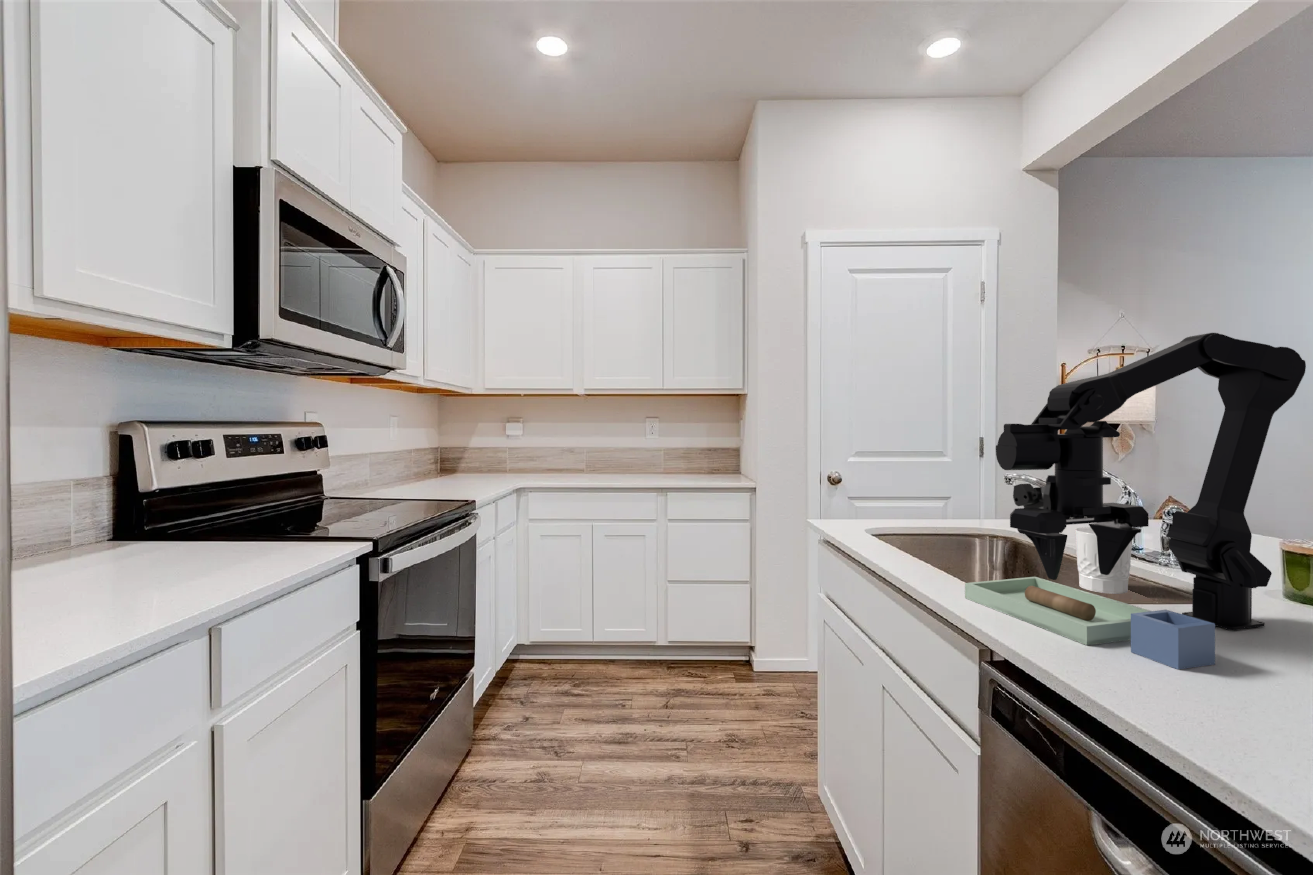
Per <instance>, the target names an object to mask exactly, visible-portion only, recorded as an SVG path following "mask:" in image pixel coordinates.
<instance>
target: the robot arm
mask: <svg viewBox="0 0 1313 875" xmlns="http://www.w3.org/2000/svg"><path fill="white" fill-rule="evenodd" d="M1306 366H1307V365H1306V360H1305V359H1303V358H1302V356H1301V354H1299V352H1297V351H1296V350H1295V349H1294V348H1290V347H1288V346H1277V347H1276V346H1273V345H1270V344H1265V343H1261V342H1255V341H1248V340H1243V339H1238V338H1233V337H1231V336H1228V335H1226V334H1222V333H1219V332H1207V333H1201V334H1197V335H1192V336H1191V335H1190V336H1187V337H1185V338H1183V339H1182V340H1181V341H1179V342H1177V343H1175V344H1173V345H1171V346H1168V347H1166V348H1163V349H1161V350H1159V351H1157V352H1154V353H1152V354H1150V355H1148V356H1145V357H1143V358H1141V359H1138V360H1135V361H1133V362H1132V363H1129V364H1127V365H1125V366H1122V367H1120V368H1117V369H1115V370H1112V371H1111V372H1108V373H1104V374H1101V375H1097V376H1091V377H1086V378H1081V379H1077V380H1074V381H1073V380H1072V381H1070V382H1066V383H1062V384H1058V385H1056V386H1055V387H1053V388H1052V389H1051V390H1049V394H1048V397H1047V402H1046V404H1044V405H1045V406H1044V407H1043V408H1042V410H1041V411H1040V412H1039V414H1038V415H1037V416H1036V417H1035V418H1034V419H1033V421H1032V422H1031V424H1022V423H1004V424H1003V432H1002V433H1001V434H1000V435H999V437H998V440H997V444H996V445H995V456H996V460H997V463H998V464H999V467H1000V468H1001V469H1002V470H1004V471H1044V470H1045V471H1046V470H1050V469H1051V468H1052V467H1053V465H1054V474H1052V475H1051V474H1049V475H1048V474H1047V477H1046V478H1045V485H1044V486H1039V487H1034V486H1033V485H1032V484H1031V483H1018V484H1016V485H1013V493H1012V499H1013V501H1014V504H1015V505H1016V506H1017V508H1014V509H1013V511H1012V512H1010V514H1009V528H1012V529H1016V530H1017V532H1018V533H1019V534H1022V535H1025V536H1026V537H1027V538H1028V540H1030V541H1031V542H1032V544H1033V545H1034V548H1035V549H1036V552H1037V554H1038V556H1039V558H1040V559H1039V560H1041V564H1042V567H1043V568H1044V572H1045V574H1046V575H1047V578H1048V579H1049V580H1052V581H1056V580H1057V579H1058V577H1059V574H1060V571H1061V567H1062V562H1063V557H1064V554H1065V549H1066V545H1067V541H1068V534H1065V533H1063V531H1065V529H1067V525H1068V526H1069V525H1085V524H1088V526H1089V527H1091V529H1092V530H1093V532H1094V533H1095V534H1096V536H1097V548H1098V563H1099V569H1100V573H1101V574H1104V575H1109V574H1110V572H1111V571H1112V569H1113V567H1114V566H1115V564H1116V563H1117V561H1118V559H1119V558H1120V556H1121V555H1122V553H1123V552H1124V550H1125V549H1126V547H1127V546H1128V545H1129V543H1130V542H1131V541H1133V539H1134V538H1135V537H1136V535H1137V534H1140V533H1141V532H1142V528H1141V527H1144V528H1145V527H1149V512H1148V511H1147V510H1146V509H1145V508H1144V507H1143V506H1142V505H1134V504H1126V503H1118V502H1104V486H1107V485H1111V484H1112V481H1111V480H1112V477H1111V476H1104V438H1105V439H1106V438H1119V437H1120V436H1121V433H1120V432H1119V430H1116V429H1115V428H1113V427H1112V426H1110V424H1108V422H1107V421H1106V420H1104V419H1105V418H1107V417H1108V416H1110V415H1112V413H1114V412H1116V411H1117V410H1119V409H1120V408H1121V407H1123V406H1124V405H1125V403H1126V402H1127V400H1129V399H1130V398H1132V397H1133V396H1135V395H1136V394H1140V393H1142V392H1143V391H1146V390H1148V389H1150V388H1151V389H1152V388H1154V387H1156V386H1158V385H1160V384H1162V383H1165V382H1167V381H1169V380H1171V379H1175V378H1176V377H1179V376H1181V375H1183V374H1186V373H1188V372H1190V371H1193V370H1196V369H1198V370H1199V371H1201V372H1202V373H1203V374H1205V375H1207V376H1209V377H1213V378H1215V379H1217V380H1218V386H1217V390H1218V393H1219V394H1218V395H1219V396H1220V397H1221V401H1222V403H1223V405H1224V412H1223V415H1222V419H1221V422H1220V424H1219V425H1220V426H1219V428H1218V431H1217V435H1216V438H1215V443H1214V444H1213V449H1212V452H1211V455H1210V458H1209V462H1208V465H1207V469H1206V472H1205V476H1204V479H1203V482H1202V486H1201V489H1200V493H1199V495H1198V498H1197V501H1196V503H1195V504H1194V506H1192V507H1191V508H1190V509H1189V510H1188V511H1187V512H1186V511H1181V510H1176V511H1175V512H1174V513H1173V515H1172V521H1171V527H1170V528H1169V531H1167V533H1166V535H1165V537H1166V538H1169V539H1168V540H1169V541H1168V548H1169V550H1170V551H1171V553H1172V555H1173V556H1174V557H1175V558H1176V559H1177V563H1178V564H1179V567H1180V570H1181V571H1182V572H1183V573H1187V574H1191V575H1195V576H1193V578H1192V579H1193V586H1192V590H1191V591H1192V592H1191V593H1192V595H1191V596H1192V598H1191V600H1192V603H1191V604H1192V607H1191V608H1192V611H1186V612H1181V614H1183V615H1187V616H1190V617H1194V618H1197V619H1201V620H1204V621H1208V622H1211V623H1215V627H1217V628H1221V629H1225V630H1230V631H1235V630H1245V629H1254V628H1260V627H1265V624H1266V623H1265V622H1264V621H1261V620H1257V619H1253V618H1252V617H1253V616H1252V614H1253V613H1252V608H1253V607H1252V606H1253V603H1252V602H1253V600H1252V599H1253V597H1252V596H1253V595H1252V594H1253V593H1252V590H1253V589H1257V588H1259V587H1261V588H1262V587H1264V588H1265V587H1267V586H1268V584H1269V582H1270V579H1271V577H1272V574H1273V573H1272V571H1271V570H1270V569H1269V568H1268V567H1267V565H1264V563H1263V562H1261V561H1260V559H1258V558H1257V557H1256V556H1255V555H1254V554H1253V553H1252V552H1251V546H1252V545H1251V544H1252V537H1253V536H1252V531H1251V529H1250V527H1249V524H1248V521H1247V519H1246V516H1245V509H1246V505H1247V502H1248V499H1249V495H1250V492H1251V489H1252V486H1253V483H1254V479H1255V476H1256V472H1257V469H1258V465H1259V462H1260V459H1261V456H1262V453H1263V448H1264V445H1265V442H1266V440H1267V436H1268V432H1269V429H1270V426H1271V423H1272V419H1273V416H1274V415H1275V413H1276V412H1277V411H1278V410H1279V409H1280V408H1282V407H1283V406H1284V405H1285V403H1287V402H1288V401H1289V400H1290V399H1291V398H1293V396H1295V394H1296V392H1297V390H1298V388H1299V387H1300V384H1301V382H1302V380H1303V378H1304V376H1305V374H1306V368H1307V367H1306ZM1087 423H1091V425H1087V426H1086V424H1087ZM1084 425H1085V426H1084ZM1061 430H1065V432H1063V433H1059V431H1061ZM1058 433H1059V434H1058ZM1018 507H1019V508H1018ZM1021 507H1022V508H1021Z"/></svg>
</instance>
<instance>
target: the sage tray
mask: <svg viewBox="0 0 1313 875" xmlns="http://www.w3.org/2000/svg"><path fill="white" fill-rule="evenodd" d="M1029 586H1035V587H1038V588H1041V589H1044V590H1047V591H1051V592H1054V593H1057V594H1060V595H1063V596H1066V597H1070V598H1073V599H1076V600H1079V601H1082V602H1085V603H1089V604H1092V605H1093V606H1094V607H1095V610H1096V614H1095V616H1094V618H1093V619H1092V620H1089V621H1087V620H1084V619H1081V618H1078V617H1075V616H1072V615H1069V614H1067V613H1064V612H1061V611H1058V610H1055V609H1052V608H1049V607H1046V606H1043V605H1041V604H1038V603H1035V602H1032V601H1029V600H1027V599H1026V597H1025V590H1026V589H1027V587H1029ZM964 598H965V599H967V600H970V601H972V602H974V603H976V604H979V605H982V606H985V607H987V608H990V609H992V610H995V611H997V612H1000V613H1002V614H1005V615H1008V616H1010V617H1013V618H1015V619H1018V620H1021V621H1023V622H1025V623H1028V624H1031V625H1033V626H1036V627H1039V628H1041V629H1043V630H1047V631H1048V632H1051V633H1053V634H1056V635H1059V636H1062V637H1064V638H1067V639H1069V640H1072V641H1075V642H1076V643H1080V644H1082V645H1085V646H1094V645H1102V644H1109V643H1117V642H1124V641H1125V642H1126V641H1127V642H1128V641H1131V613H1140V612H1149V611H1151V610H1150V609H1147V608H1142V607H1139V606H1136V605H1132V604H1129V603H1127V602H1123V601H1121V600H1120V601H1119V600H1116V599H1112V598H1109V597H1105V596H1103V595H1099V594H1096V593H1092V592H1088V591H1086V590H1081V589H1079V588H1075V587H1072V586H1069V585H1064V584H1061V583H1057V582H1054V581H1053V580H1052V581H1051V580H1048V579H1044V578H1042V577H1038V576H1029V577H1018V578H1007V579H997V580H995V579H994V580H985V581H984V580H983V581H974V582H973V581H972V582H965V583H964Z"/></svg>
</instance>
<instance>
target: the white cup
mask: <svg viewBox="0 0 1313 875" xmlns="http://www.w3.org/2000/svg"><path fill="white" fill-rule="evenodd" d="M1074 533H1075V534H1074V536H1075V553H1076V564H1077V572H1078V582H1079V584H1078V585H1079V587H1080V588H1082V589H1083V590H1085V591H1086V590H1087V591H1091V592H1095V593H1101V594H1110V595H1111V594H1112V595H1119V594H1121V595H1122V594H1127V593H1129V592H1128V591H1129V578H1130V573H1131V572H1130V571H1131V562H1132V561H1131V560H1132V546H1133V545H1132V544H1133V542H1132V541H1133V540H1132V541H1131V542H1130V543H1129V545H1128V546H1127V547H1126V549H1125V550H1124V552H1123V553H1122V555H1121V556H1120V558H1119V559H1118V561H1117V563H1116V564H1115V566H1114V567H1113V569H1112V571H1111V572H1110V574H1109V575H1104V574H1101V573H1100V569H1099V563H1098V548H1097V536H1096V534H1095V533H1094V532H1093V530H1092V529H1091V527H1090V526H1089V527H1088V526H1087V527H1086V526H1085V527H1076V528H1075V530H1074Z"/></svg>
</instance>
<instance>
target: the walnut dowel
mask: <svg viewBox="0 0 1313 875" xmlns="http://www.w3.org/2000/svg"><path fill="white" fill-rule="evenodd" d="M1025 597H1026V599H1027V600H1029V601H1032V602H1035V603H1038V604H1041V605H1043V606H1046V607H1049V608H1052V609H1055V610H1058V611H1061V612H1064V613H1067V614H1069V615H1072V616H1075V617H1078V618H1081V619H1084V620H1087V621H1089V620H1092V619H1093V618H1094V616H1095V614H1096V610H1095V607H1094V606H1093V605H1092V604H1089V603H1085V602H1082V601H1079V600H1076V599H1073V598H1070V597H1066V596H1063V595H1060V594H1057V593H1054V592H1051V591H1047V590H1044V589H1041V588H1038V587H1035V586H1029V587H1027V589H1026V590H1025Z"/></svg>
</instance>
